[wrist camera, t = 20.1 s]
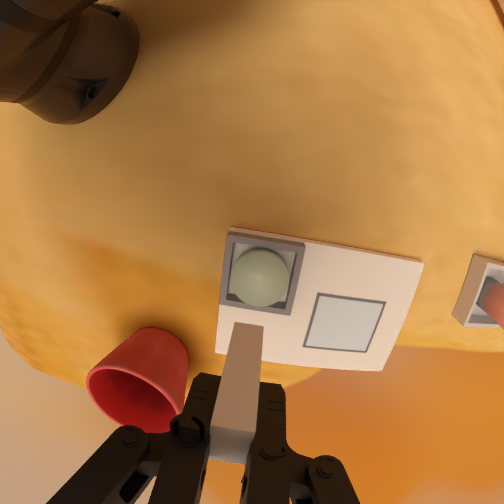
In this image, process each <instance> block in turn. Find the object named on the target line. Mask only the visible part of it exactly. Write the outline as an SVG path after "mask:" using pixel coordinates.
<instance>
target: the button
mask: <svg viewBox="0 0 504 504" xmlns="http://www.w3.org/2000/svg"><path fill="white" fill-rule="evenodd" d="M231 285H232V288H233V291H234V292H235V294H236V295H237V297H238V298H239V299H241V300H242V301H243V302H245V303H247V304H249V305H252V306H257V307H264V306H269V305H272V304H274V303H276V302H278V301H279V300H280V299H281V298H282V297H283V296H284V295H285V293H286V291H287V289H288V285H289V275H288V268H287V264H286V262H285V260H284V259H283V258H282V256H281V255H280V254H278V253H277V252H276V251H274V250H272V249H269V248H264V247H257V248H252V249H249V250H247V251H245V252H244V253H243V254H242V255H241V256H240V257H239V258H238V259H237V261H236V263H235V266H234V268H233V271H232V274H231Z"/></svg>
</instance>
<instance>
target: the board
mask: <svg viewBox="0 0 504 504" xmlns="http://www.w3.org/2000/svg"><path fill="white" fill-rule="evenodd" d="M257 247H264V248H269V249H272V250H274V251H276V252H277V253H278V254H280V255H281V256H282V258H283V259H284V260H285V262H286V264H287V268H288V275H289V285H288V289H287V291H286V293H285V295H284V296H283V297H282V298H281V299H280V300H279V301H278V302H276V303H274V304H272V305H269V306H264V307H257V306H252V305H249V304H247V303H245V302H243V301H242V300H241V299H239V298H238V297H237V295H236V294H235V292H234V291H233V288H232V285H231V274H232V271H233V268H234V266H235V263H236V261H237V259H238V258H239V257H240V256H241V255H242V254H243V253H244V252H245V251H247V250H249V249H252V248H257ZM423 267H424V263H423V262H422V261H420V260H418V259H413V258H408V257H402V256H397V255H392V254H387V253H382V252H376V251H371V250H365V249H360V248H354V247H349V246H343V245H338V244H332V243H326V242H321V241H315V240H309V239H303V238H297V237H291V236H285V235H279V234H273V233H267V232H261V231H255V230H249V229H242V228H236V227H230V228H229V230H228V234H227V238H226V246H225V254H224V263H223V271H222V280H221V289H220V299H219V304H220V307H219V317H218V327H217V337H216V347H215V353H219V354H224V355H227V352H228V348H229V343H230V339H231V335H232V331H233V326H234V322H240V323H247V324H253V325H259V326H264V330H263V345H262V358H261V361H267V362H274V363H281V364H290V365H298V366H308V367H318V368H331V369H344V370H363V371H382V369H383V367H384V365H385V363H386V361H387V359H388V357H389V355H390V353H391V350H392V348H393V346H394V344H395V342H396V339H397V337H398V335H399V332H400V330H401V328H402V325H403V323H404V320H405V318H406V315H407V313H408V310H409V308H410V305H411V302H412V300H413V297H414V294H415V291H416V289H417V286H418V283H419V280H420V277H421V274H422V270H423Z"/></svg>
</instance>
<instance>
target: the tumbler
mask: <svg viewBox="0 0 504 504" xmlns="http://www.w3.org/2000/svg"><path fill="white" fill-rule="evenodd" d="M476 305H477V306H479V307H480V308H481V309H482V310H483V311H484V312H486V313H487V314H488V315H489V316H490V317H491V318H492V319H494V320H495V321H496V322H497V323H498V324H499V325H500V326H501V327H502V328H503V329H504V285H502V284H501V283H499V282H498V281H497V280H495V279H494V278H492V277H490V276H487V277H485V280H484V283H483V286H482V289H481V291H480V294H479V297H478V299H477V302H476Z"/></svg>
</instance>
